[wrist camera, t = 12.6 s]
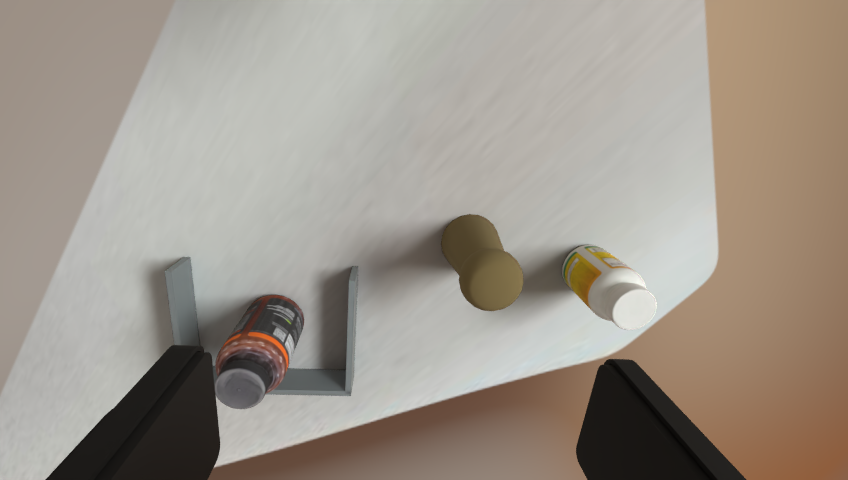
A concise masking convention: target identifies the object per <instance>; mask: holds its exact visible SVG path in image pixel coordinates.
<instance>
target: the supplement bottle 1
mask: <svg viewBox="0 0 848 480" xmlns="http://www.w3.org/2000/svg"><path fill="white" fill-rule="evenodd" d="M303 325H304V317H303V313H302V311H301V309H300V308H299V306H298V305H297V304H296V303H295V302H294V301H292V300H291V299H289V298H286V297H284V296H279V295H269V296H264V297H261V298H259V299H258V300H256V301H255V302H254V303H253V304H252V305H251V306H250V307H249V309H248V310H247V311H246V313H245V314H244V316H243V317H242V319H241V320H240V322H239V323H238V325H237V326H236V328H235V329H234V331H233V332H232V334H231V335H230V337H229V338H228V340H227V341H226V343H225V344H224V346H223V347H222V349H221V350H220V352H219V354H218V356H217V359H216V373H217V376H218V377H217V379H216V381H215V384H214V386H215V394H216V396H217V398H218V399H219V400H220V401H221V402H222V403H223V404H225V405H227V406H229V407H231V408H236V409H247V408H251V407H254V406H255V405H257V404H258V403H260V402H261V400H262V399H263V397H264V396H265V394H266V393H269V392H270V391H272V390H274V389H275V388H276V387H277V386H278V385H279V384H280V383H281V382H282V380H283V378H284V376H285V374H286V371H287V369H288V366H289V364H290V361H291V358H292V355H293V353H294V350H295V348H296V345H297V342H298V340H299V337H300V334H301V332H302V329H303Z"/></svg>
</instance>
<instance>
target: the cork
mask: <svg viewBox="0 0 848 480" xmlns="http://www.w3.org/2000/svg"><path fill="white" fill-rule="evenodd" d="M441 247H442V252H443V254H444V256H445V257H446V259H447V260H448V262H449V263H450V264H451V265H452V267H453V268H454V269H455V270H456V272H457V273H458V274H459V283H460V288H461V292H462V293H463V295H464V297H465V298H466V300H467V301H468V302H470V303H471V304H472V305H473V306H474V307H476V308H479V309H481V310H485V311H496V310H500V309H504V308H505V307H507V306H509V305H511V304H512V303H513V302H514V301H515V300H516V299H517V298H518V296H519V294H520V292H521V291H522V286H523V282H524V281H523V273H522V269H521V267H520V265H519V263H518V261H517V260H516V259H515V258H514V257H513V256H512V255H510V254H509V253H508V252H505V251H504V249H503V246H502V244H501V241H500V238H499V236H498V233H497V231H496V229H495V227H494V225H493V224H492V223H491V222H490V221H489V220H488V219H486V218H484V217H482V216H479V215H471V214H469V215H464V216H460V217H459V218H457V219H455V220H453V221H452V222H451V223H450V224H449V225H448V226H447V227H446V229H445V231H444V233H443V235H442V241H441Z"/></svg>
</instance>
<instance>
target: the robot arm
mask: <svg viewBox="0 0 848 480" xmlns="http://www.w3.org/2000/svg"><path fill="white" fill-rule="evenodd" d="M219 451H220V437H219V427H218V416H217V406H216V396H215V386H214V375H213V365H212V357H211V354H210V353H204V349H203V347H201V346H191V345H173V346H171V347H170V348H169V349H168V350H167V351H166V352H165V353H164V354H163V355H162V356H161V357H160V359H159V360H158V361H157V362H156V363H155V364H154V365H153V366H152V367H151V368H150V369H149V371H148V372H147V373H146V374H145V375H144V376H143V377H142V378H141V379H140V380H139V381H138V383H137V384H136V385H135V386H134V387H133V388H132V389H131V390H130V391H129V392H128V393H127V394H126V396H125V397H124V398H123V399H122V400H121V401H120V402H119V403H118V404H117V405H116V406H115V408H114V409H112V410H111V411H110V412H108V413H107V414H106V415H105V416H104V417H103V418H102V419H101V420H100V421H99V423H98V424H97V425H96V426H95V427H94V428H93V429H92V430H91V431H90V432H89V433H88V434H87V435H86V437H85V438H84V439H83V440H82V441H81V442H80V443H79V444H78V445H77V446H76V447H75V448H74V450H73V451H72V452H71V453H70V454H69V455H68V456H67V457H66V458H65V459H64V460H63V461H62V462H61V464H60V465H59V466H58V467H57V468H56V469H55V470H54V471H53V472H52V473H51V474H50V475H49V477H48V478H47V479H46V480H207V479H208V477H209V475H210V473H211V471H212V469H213V467H214V465H215V463H216V461H217V458H218V455H219ZM576 454H577V459H578V462H579V464H580V466H581V468H582V470H583V472H584V474H585V476H586V478H587V480H746V479H745V478H744V477H743V476H742V475H741V474H740V472H739V471H738V470H737V469H736V468H735V467H734V466H733V465H732V464H731V463H730V462H729V461H728V460H727V459H726V458H725V457H724V455H723V454H722V453H721V452H720V451H719V450H718V449H717V448H716V447H715V446H714V445H713V444H712V443H711V442H710V441H709V440H708V438H707V437H705V435H704V434H703V433H702V432H701V431H700V430H699V429H698V428H697V427H696V426H695V425H694V424H693V423H692V422H691V420H690V419H689V418H688V417H687V416H686V415H685V414H684V413H683V412H682V411H681V410H680V409H679V408H678V407H677V406H676V405H675V404H674V403H673V401H672V400H671V399H670V398H669V397H668V396H667V395H666V394H665V393H664V392H663V391H662V390H661V389H660V388H659V387H658V386H657V385H656V384H655V382H654V381H653V380H652V379H651V378H650V377H649V376H648V375H647V374H646V373H645V372H644V371H643V370H642V369H641V368H640V367H639V365H637V363H635V362H634V361H633V360H623V359H609V360H607V361H606V362H605V363H604V365H601V366H600V367H599V369H598V371H597V375H596V378H595V382H594V385H593V389H592V393H591V396H590V400H589V403H588V407H587V411H586V414H585V418H584V421H583V425H582V429H581V432H580V436H579V439H578V443H577V448H576Z"/></svg>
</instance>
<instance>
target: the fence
mask: <svg viewBox="0 0 848 480" xmlns="http://www.w3.org/2000/svg"><path fill="white" fill-rule="evenodd" d="M165 278H166V285H167V293H168V301H169V308H170V316H171V323H172V331H173V339H174V345H191V346H200V343H199V334H198V324H197V315H196V306H195V296H194V287H193V278H192V269H191V259H190V258H189V257H184V258H182V259H181V260H179V261H178V262H177V263H175V264H174V265H173V266H171V267H170V268H168V269H167V270H166V271H165ZM357 286H358V266H352V270H351V274H350V278H349V293H348V324H347V355H346V370H324V369H287V371H286V374H285V376H284V378H283V380H282V382H281V383H280V384H279V385H278V386H277V387H276V388H275V389H274V390H272V391H270V392H269V393H266V394H276V395H326V396H351V392H352V385H353V378H354V361H355V336H356V311H357ZM213 375H214V384H215V381H216V379H217V377H218V376H217V373H216V367H213Z"/></svg>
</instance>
